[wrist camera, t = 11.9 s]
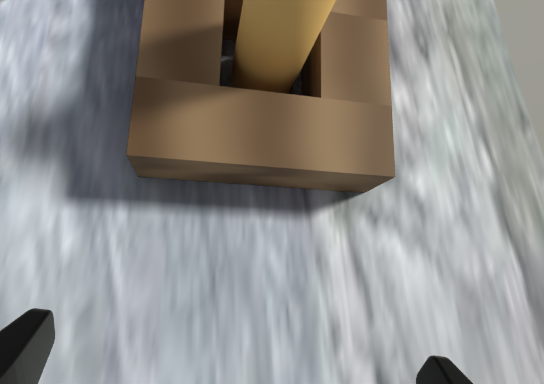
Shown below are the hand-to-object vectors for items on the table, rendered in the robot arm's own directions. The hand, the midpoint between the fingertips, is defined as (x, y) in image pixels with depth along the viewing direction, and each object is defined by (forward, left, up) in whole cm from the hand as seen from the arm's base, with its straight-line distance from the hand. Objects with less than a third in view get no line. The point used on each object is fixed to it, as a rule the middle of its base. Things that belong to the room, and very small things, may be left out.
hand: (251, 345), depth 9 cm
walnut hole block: (+2, +14, -13) cm, 19 cm away
